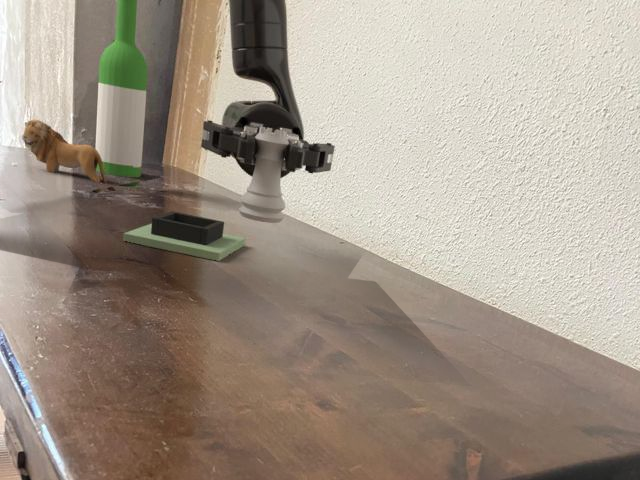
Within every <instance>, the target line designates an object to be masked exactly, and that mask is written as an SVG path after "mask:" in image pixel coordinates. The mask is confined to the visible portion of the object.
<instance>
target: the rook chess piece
mask: <svg viewBox="0 0 640 480" xmlns="http://www.w3.org/2000/svg"><path fill="white" fill-rule="evenodd" d="M286 136H287V132H285V131H283V132H282V130H276V131H275V133H272V128H267V129H265V127H260V130H259V133H258V134H257V135H256V136H255V140H256V142H257V145H258V151H257V153H256V154H255V157H256V164H255V169H254V173H253V177H252V176H251V180H250V183H249V186H248V187H247V188H246V191H245V192H244V193H243V194H242V196H241V198H240V203H241V204H242V206H240V207H239V208H238V209H237V210H238V212H239V215H240V216H241V217H244V218H246V219H248V220H252V221H254V222H255V221H256V222H261V223H267V224H268V223H269V224H279V223H281V222H282V221H283V220H284V218H285V215H284V214H283V211H284V210H285V209H286V202H285V201H284V199H283V197H282V196H283V193H282V188H281V179H282V178H281V166H282V163H283V162H284V161H285V160H284V159H283V151H284V150H285V148H286V147H287V146H288V145H289V142H288V140H287V138H286Z"/></svg>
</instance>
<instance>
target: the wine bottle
mask: <svg viewBox="0 0 640 480" xmlns="http://www.w3.org/2000/svg"><path fill="white" fill-rule="evenodd" d="M137 9H138V0H117V10H116V30H115V38H114V39H115V40H114V41H113V43H111V44H109V46H107V47H106V48H105V49H104V51H103V52H102V54H101V56H100V59H99V68H98V86H97V104H96V105H97V108H96V127H95V128H96V129H95V147H94V148H95V149H96V150H97V152H98V153H99V155H100V157H101V160H102V163H103V168H104V173H105V175H109V176H115V177H123V178H125V177H126V178H140V177H141V175H142V165H143V164H142V163H143V148H144V147H143V146H144V132H145V120H146V119H145V117H146V106H147V105H146V103H147V87H148V86H147V85H148V66H147V61H146V59H145V57H144V55H143V53H142V52H141V50H139V48H138V47H137V45H136V31H137V30H136V28H137V12H138V11H137ZM96 172H98V173H101V172H100V168H99V164H98V165H97V169H96ZM139 184H140V180H139V181H133V182H127V183H123V184H119V185H117V186H119V187H136V186H138V185H139Z"/></svg>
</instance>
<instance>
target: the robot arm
mask: <svg viewBox="0 0 640 480" xmlns="http://www.w3.org/2000/svg"><path fill="white" fill-rule="evenodd" d="M228 5H229V6H228V7H229V8H228V9H229V26H230V27H229V29H230V45H231V60H232V67H233V68H232V69H233V72H234V74H235V75H236V76H237V77H239V78H240V79H244V80H247V81H252V82H256V83H257V82H258V83H261V84H264V85H266V86H268V87H269V88H270V89H271V90H272V92H273V95H274V98H275V99H274V100H237V101H232V102H231V103H229V104H228V106H226V108H225V110H224V112H223V115H222V119H221V120H222V121H221V124H219V123H216V122H214V121H213V120H209V119H208V120H204V121H203V125H202V133H201V142H200V143H201V144H200V148H202V149H204V150H205V151H209V152H211V153H214V154H215V155H218V156H220V157H221V158H224V159H225V158H226V159H227V158H230V157H232V158H233V159H234V160H235V161H236V163H237V165H238V167H240V168H241V169H242V171H243V172H245V174H247V175H248V176H250V177H251V178H252V177H253V173H254V169H255V164H256V157H255V154H256V153H257V151H258V145H257V142H256V140H255V136H256V135H257V134H258V133H259V130H260V127H265V129H267V128H272V133H275V131H276V130H282V132H283V131H285V132H287V136H286V138H287V140H288V142H289V145H288V146H287V147H286V148H285V150H284V151H283V159H284V160H285V161H284V162H283V163H282V166H281V178H280V179H282V178H284V177H286V176H288V175H289V174H290V173H295V172H296V171H300V170H301V169H303V166H304V171H305V172H308V173H309V174H314V173H315V174H318V173H323V172H326V173H327V172H331V171H332V164H333V159H334V154H335V153H334V152H335V147H336V145H333V144H332V143H330V142H326V143H320V142H316V143H315V142H313V143H309V142H308V141H307V140H305V128H304V123H303V118H302V114H301V111H300V108H299V105H298V101H297V99H296V94H295V92H294V87H293V82H292V77H291V72H290V64H289V50H288V49H289V42H288V40H289V39H288V15H287V14H288V11H287V3H286V0H228Z"/></svg>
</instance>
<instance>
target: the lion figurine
mask: <svg viewBox="0 0 640 480" xmlns="http://www.w3.org/2000/svg"><path fill="white" fill-rule="evenodd" d="M23 130H24V131H23V134H22V135H21V136H22V137H21V139H22V141H23V142H24V143H23V144H24V146H25V147H26V148H27V150H28V151H30V152H31V153H32V154H33V155H34V156H35V158H36V160H37V161H39V162H40V163H42V164H45V167H46V171H47V173H52V174H55V172H59V170H60V166H61V167H64V168H67V169H75V168H80V167H81V168H82V171H83V172H84V173H85V175H86V176H87V177H88V178H89V179H90V180H91V181H92V182H94V183H98V184H99V183H101V178H102V182H103V183H104V184H105V183H108V181H107V178H106V174H105V173H104V168H103V163H102V160H101V157H100V155H99V153H98V152H97V150H96V149H95V147H94V146H92V145H90V144H73V143H68V141H67V140H66V139H65V138H64V137H63V135H62V134H61V133H60V132H58V131H56V130H55V129H53V128H52V126H50V125H48V124H47V123H45V122H44V121H42V120H40V119H30V120H27V122H26V121H25V122H24V129H23ZM98 164H99V168H100V172H99V173H100V176H101V178H100V177H99V175H98V174H97V171H96V169H97V165H98ZM107 189H108V190H109V191H110V192H116V189H115V188H114V186H109V187H107ZM101 191H102V189H101V188H99V189H98V188H97V189H93V190H91V192H92V193H93V194H100V193H101Z"/></svg>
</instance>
